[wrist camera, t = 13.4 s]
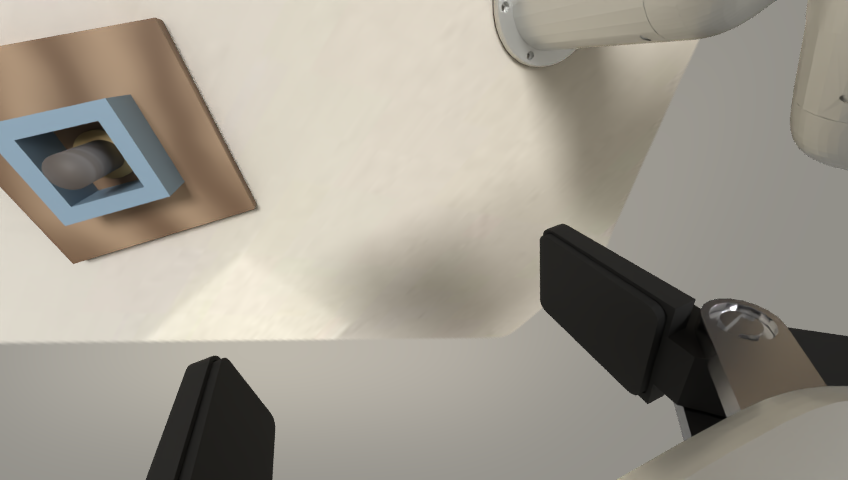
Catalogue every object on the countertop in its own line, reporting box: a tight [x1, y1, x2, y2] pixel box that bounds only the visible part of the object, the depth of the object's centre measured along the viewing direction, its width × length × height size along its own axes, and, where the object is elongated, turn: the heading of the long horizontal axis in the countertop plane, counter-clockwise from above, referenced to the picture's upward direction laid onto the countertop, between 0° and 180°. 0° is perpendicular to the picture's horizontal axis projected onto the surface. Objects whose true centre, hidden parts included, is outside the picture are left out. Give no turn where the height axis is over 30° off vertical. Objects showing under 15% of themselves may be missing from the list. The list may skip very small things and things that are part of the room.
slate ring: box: [0, 94, 185, 226], centre depth 25 cm, size 7×7×4 cm
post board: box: [0, 18, 256, 264], centre depth 25 cm, size 16×16×8 cm
